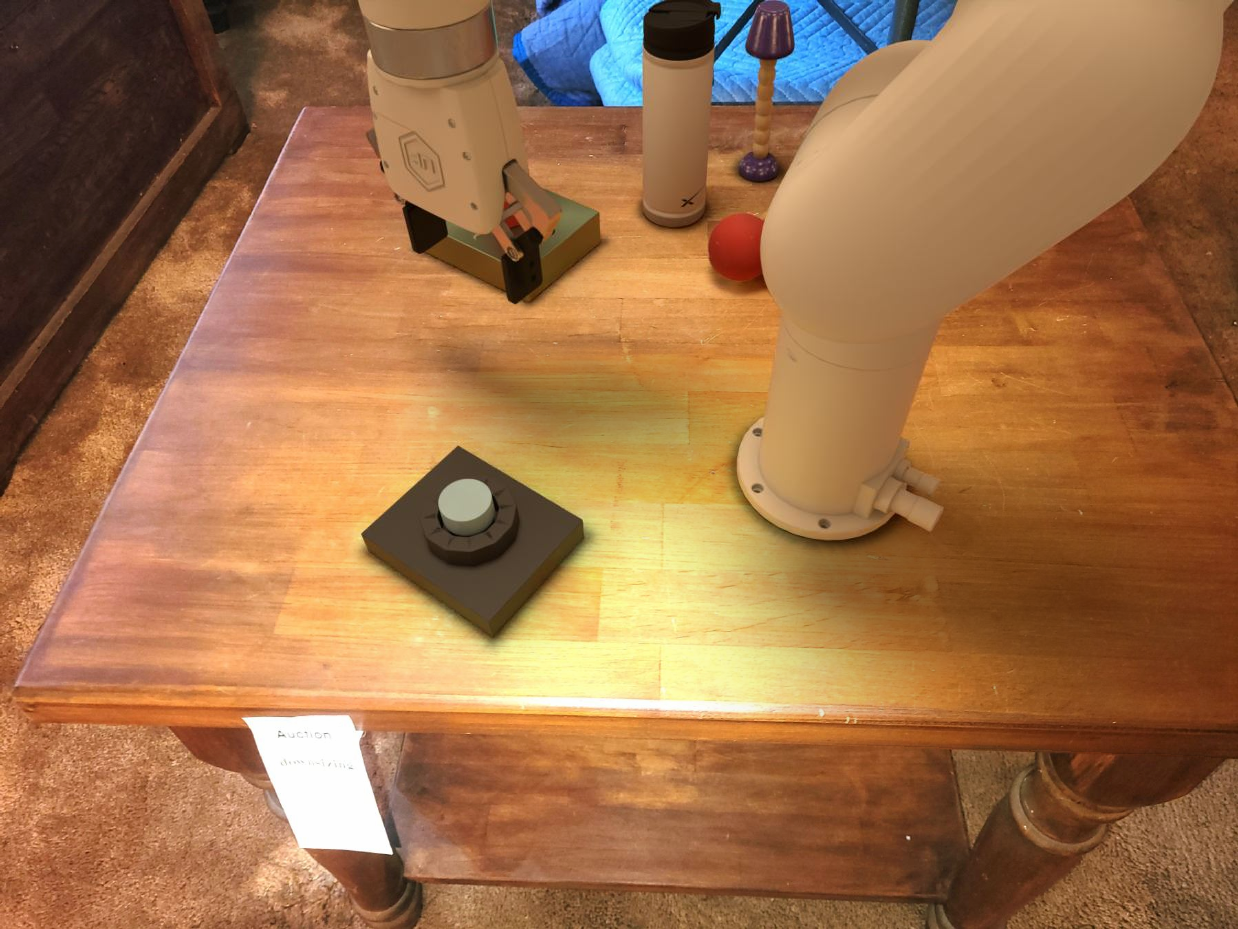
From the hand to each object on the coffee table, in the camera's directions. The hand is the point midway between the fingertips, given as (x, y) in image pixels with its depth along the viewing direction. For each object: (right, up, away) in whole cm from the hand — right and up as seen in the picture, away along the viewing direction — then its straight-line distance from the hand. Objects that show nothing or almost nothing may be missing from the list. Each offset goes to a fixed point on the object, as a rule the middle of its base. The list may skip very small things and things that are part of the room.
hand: (477, 267), depth 65 cm
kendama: (+28, +4, +17) cm, 33 cm away
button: (0, -18, -5) cm, 19 cm away
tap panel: (0, +7, +20) cm, 22 cm away
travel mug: (+16, +11, +24) cm, 31 cm away
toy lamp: (+25, +17, +28) cm, 41 cm away
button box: (0, -20, -2) cm, 20 cm away
